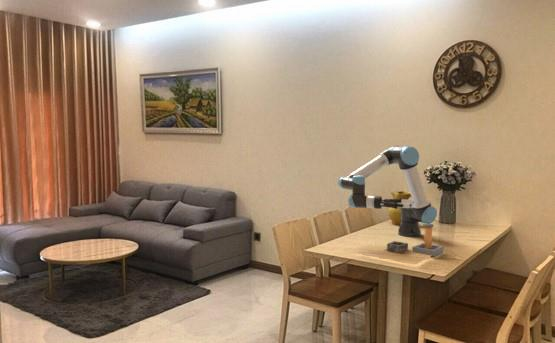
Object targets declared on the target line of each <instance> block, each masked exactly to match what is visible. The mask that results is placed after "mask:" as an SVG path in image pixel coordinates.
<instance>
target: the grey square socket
mask: <svg viewBox="0 0 555 343" xmlns="http://www.w3.org/2000/svg"><path fill="white" fill-rule="evenodd" d="M383 252H389V253H394V254H399V255H404V254H406V253H408V252H412V249H409V243H407V242H402V241H396V240H394V241H390V242H388V243H386V249H384V250H383Z"/></svg>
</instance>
